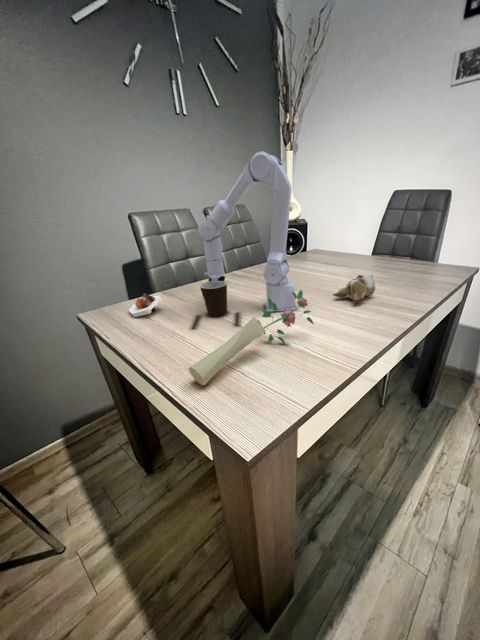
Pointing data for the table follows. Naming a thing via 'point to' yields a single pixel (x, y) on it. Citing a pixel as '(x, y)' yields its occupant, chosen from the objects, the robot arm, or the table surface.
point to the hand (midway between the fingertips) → (219, 297)
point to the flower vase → (242, 341)
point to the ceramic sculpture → (358, 288)
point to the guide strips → (198, 318)
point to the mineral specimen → (144, 305)
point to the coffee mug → (215, 298)
